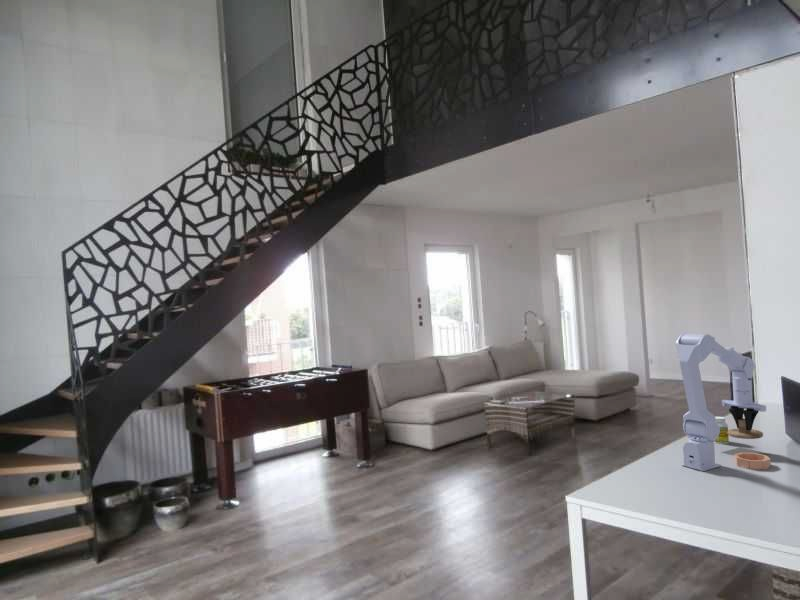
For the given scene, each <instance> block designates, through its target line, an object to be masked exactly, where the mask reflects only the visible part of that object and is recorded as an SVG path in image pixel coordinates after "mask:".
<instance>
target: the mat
mask: <svg viewBox="0 0 800 600" xmlns="http://www.w3.org/2000/svg"><path fill="white" fill-rule="evenodd" d="M720 453H721V454H727V455H729V456H734V454H738V453H757V454H762V455H766V456H770V455H771V453H769V452H764V451H758V450H754V449H751V448H747V447H740V446H739V447H735V448H732V449H729V450H725V451H721V452H720Z"/></svg>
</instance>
